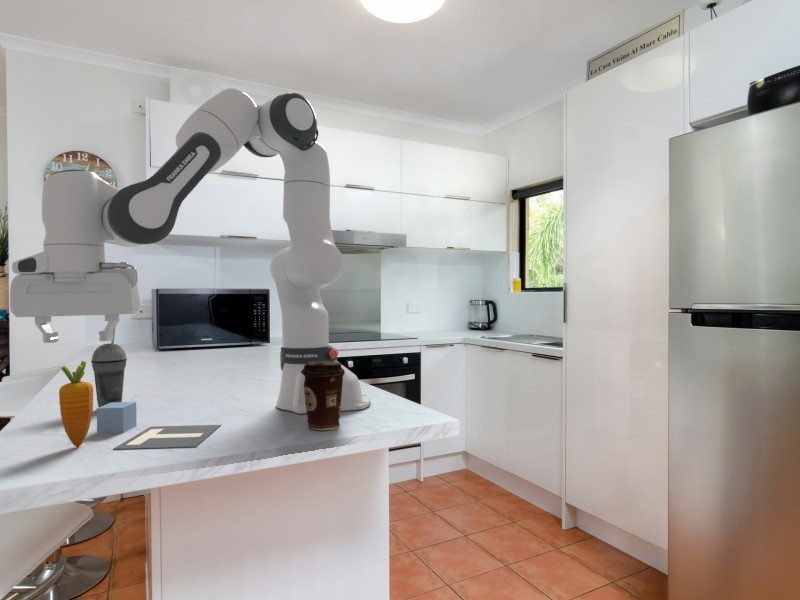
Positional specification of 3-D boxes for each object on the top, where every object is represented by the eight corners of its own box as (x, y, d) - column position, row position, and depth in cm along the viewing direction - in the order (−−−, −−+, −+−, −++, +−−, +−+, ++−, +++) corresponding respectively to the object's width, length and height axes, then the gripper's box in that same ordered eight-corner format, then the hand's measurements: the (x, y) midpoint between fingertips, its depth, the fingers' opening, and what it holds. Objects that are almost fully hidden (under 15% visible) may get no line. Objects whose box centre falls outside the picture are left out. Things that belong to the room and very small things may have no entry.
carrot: (61, 453, 80) (58, 364, 80) (60, 446, 83) (57, 362, 84) (95, 447, 83) (93, 361, 83) (93, 441, 87) (91, 359, 87)
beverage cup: (94, 407, 113) (93, 324, 113) (129, 404, 116) (128, 323, 116) (88, 414, 106) (87, 326, 106) (126, 410, 109) (124, 325, 109)
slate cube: (136, 426, 97) (136, 401, 97) (123, 433, 92) (123, 407, 92) (111, 426, 96) (111, 402, 96) (97, 434, 91) (96, 408, 91)
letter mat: (221, 425, 96) (221, 424, 96) (196, 447, 82) (196, 446, 82) (150, 427, 95) (150, 426, 95) (113, 449, 81) (113, 448, 81)
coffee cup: (302, 434, 89) (302, 366, 89) (299, 423, 97) (298, 360, 97) (348, 430, 92) (347, 364, 92) (341, 419, 100) (340, 358, 100)
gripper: (145, 262, 87) (147, 337, 87) (28, 265, 85) (31, 341, 86) (127, 260, 80) (130, 341, 81) (1, 263, 79) (5, 345, 79)
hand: (78, 341), depth 83 cm, fingers open, 8 cm apart
